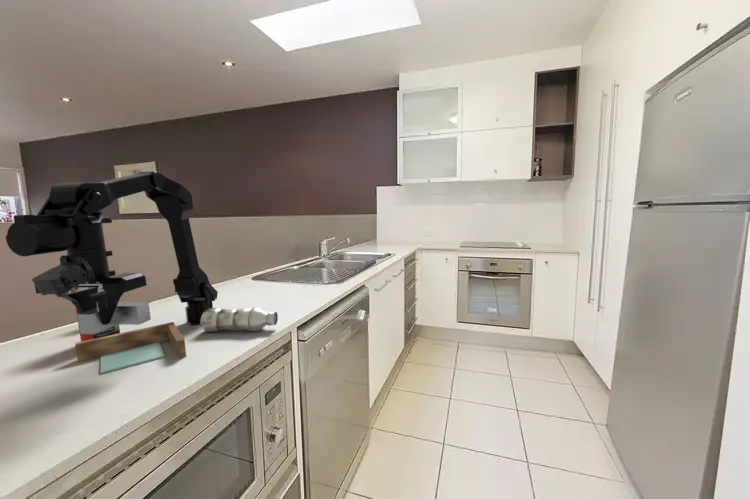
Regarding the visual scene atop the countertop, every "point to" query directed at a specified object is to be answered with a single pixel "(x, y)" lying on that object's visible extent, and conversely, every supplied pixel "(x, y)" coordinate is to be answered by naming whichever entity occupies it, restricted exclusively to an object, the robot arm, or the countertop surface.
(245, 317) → the plastic bottle
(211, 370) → the countertop surface
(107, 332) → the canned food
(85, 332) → the bracket
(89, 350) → the wooden corner wall
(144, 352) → the pad
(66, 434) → the countertop surface
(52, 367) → the countertop surface
